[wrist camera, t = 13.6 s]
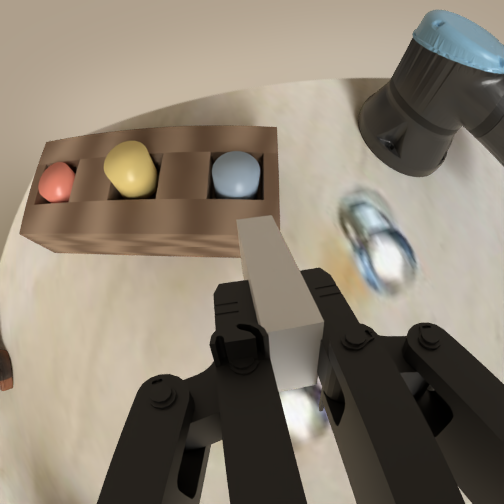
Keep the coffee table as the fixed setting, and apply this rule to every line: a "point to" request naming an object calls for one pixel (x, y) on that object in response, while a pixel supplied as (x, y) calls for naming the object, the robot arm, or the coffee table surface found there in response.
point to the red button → (57, 183)
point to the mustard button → (132, 170)
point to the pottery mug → (5, 371)
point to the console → (161, 202)
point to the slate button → (236, 176)
